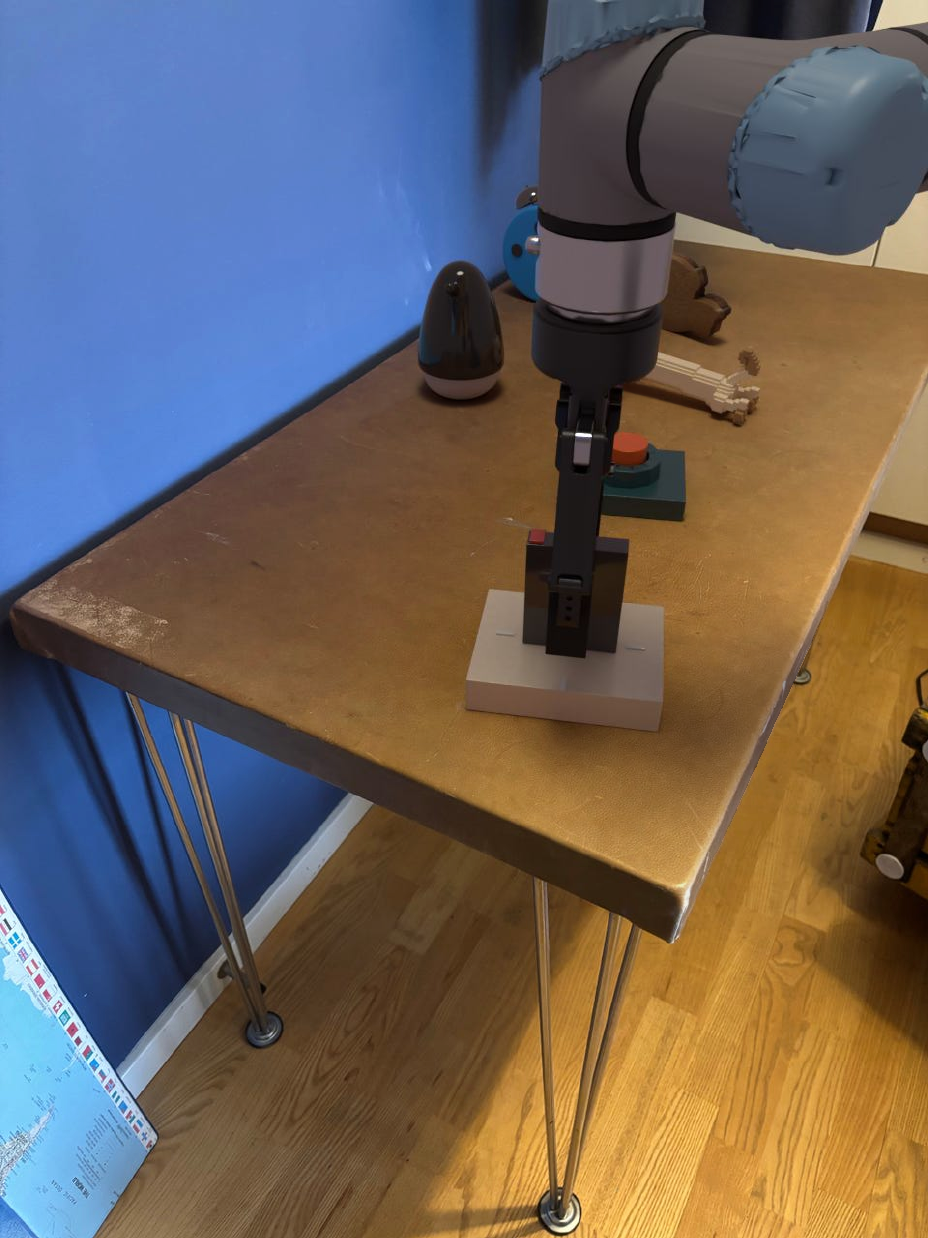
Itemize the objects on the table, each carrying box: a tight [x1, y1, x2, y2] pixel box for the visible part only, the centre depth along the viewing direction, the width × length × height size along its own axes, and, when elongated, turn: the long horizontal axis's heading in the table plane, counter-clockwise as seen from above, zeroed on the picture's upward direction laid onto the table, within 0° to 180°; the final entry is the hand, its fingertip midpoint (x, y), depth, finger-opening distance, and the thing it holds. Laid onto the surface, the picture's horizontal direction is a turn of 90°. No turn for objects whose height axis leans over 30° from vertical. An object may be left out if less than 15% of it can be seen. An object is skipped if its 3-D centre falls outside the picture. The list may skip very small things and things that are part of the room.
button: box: [612, 431, 649, 466], centre depth 89 cm, size 4×4×2 cm
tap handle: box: [522, 528, 630, 653], centre depth 66 cm, size 7×2×9 cm, turn 80°
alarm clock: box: [502, 184, 540, 302], centre depth 129 cm, size 13×6×15 cm, turn 53°
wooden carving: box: [659, 251, 732, 339], centre depth 121 cm, size 16×5×10 cm, turn 44°
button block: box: [601, 442, 687, 522], centre depth 90 cm, size 12×10×4 cm
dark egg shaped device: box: [417, 259, 505, 401], centre depth 105 cm, size 10×10×15 cm
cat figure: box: [618, 347, 761, 426], centre depth 106 cm, size 10×9×25 cm
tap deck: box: [465, 588, 665, 733], centre depth 70 cm, size 14×11×3 cm
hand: (573, 600), depth 66 cm, fingers open, 11 cm apart
